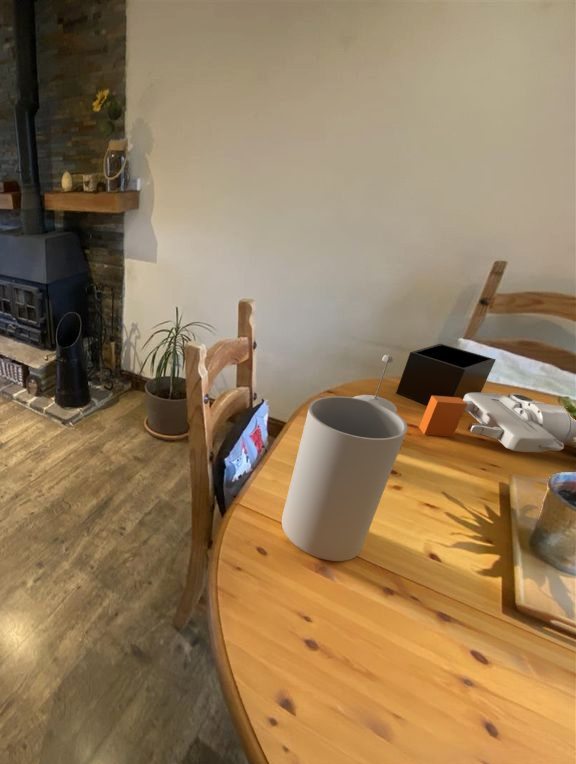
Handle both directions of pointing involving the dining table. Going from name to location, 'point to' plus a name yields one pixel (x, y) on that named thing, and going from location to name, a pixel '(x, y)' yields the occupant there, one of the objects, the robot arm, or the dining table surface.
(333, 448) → the cylinder vase
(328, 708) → the dining table surface
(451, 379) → the bin
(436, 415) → the block
